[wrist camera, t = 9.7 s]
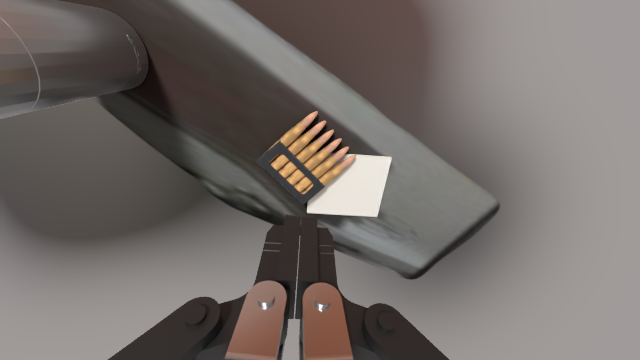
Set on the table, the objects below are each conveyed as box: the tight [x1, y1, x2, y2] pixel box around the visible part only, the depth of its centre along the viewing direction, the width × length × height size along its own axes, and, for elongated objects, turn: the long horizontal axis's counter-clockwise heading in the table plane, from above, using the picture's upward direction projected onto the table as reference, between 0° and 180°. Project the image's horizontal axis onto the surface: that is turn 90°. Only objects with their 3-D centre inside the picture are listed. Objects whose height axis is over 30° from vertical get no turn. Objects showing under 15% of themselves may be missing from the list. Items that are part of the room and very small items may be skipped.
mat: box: [307, 152, 392, 217], centre depth 41 cm, size 13×12×1 cm
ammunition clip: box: [256, 111, 356, 204], centre depth 37 cm, size 11×2×12 cm
